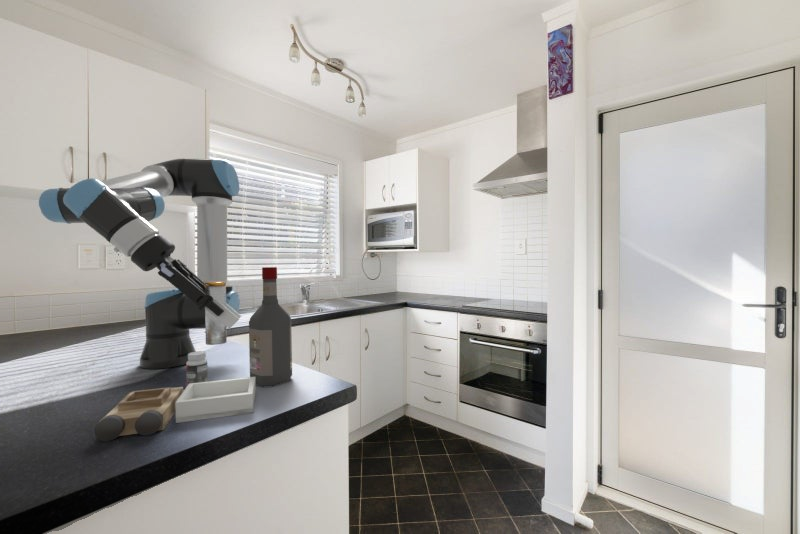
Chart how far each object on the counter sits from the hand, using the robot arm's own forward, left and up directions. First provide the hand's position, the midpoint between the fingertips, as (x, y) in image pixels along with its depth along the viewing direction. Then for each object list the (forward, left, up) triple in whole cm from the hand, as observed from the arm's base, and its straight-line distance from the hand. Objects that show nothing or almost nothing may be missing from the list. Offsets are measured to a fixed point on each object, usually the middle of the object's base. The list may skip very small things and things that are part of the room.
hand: (235, 322), depth 79 cm
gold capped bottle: (0, -4, -4) cm, 6 cm away
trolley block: (0, -17, -18) cm, 25 cm away
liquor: (-15, +7, -18) cm, 25 cm away
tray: (-1, -3, -18) cm, 19 cm away
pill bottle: (-18, -11, -18) cm, 28 cm away
